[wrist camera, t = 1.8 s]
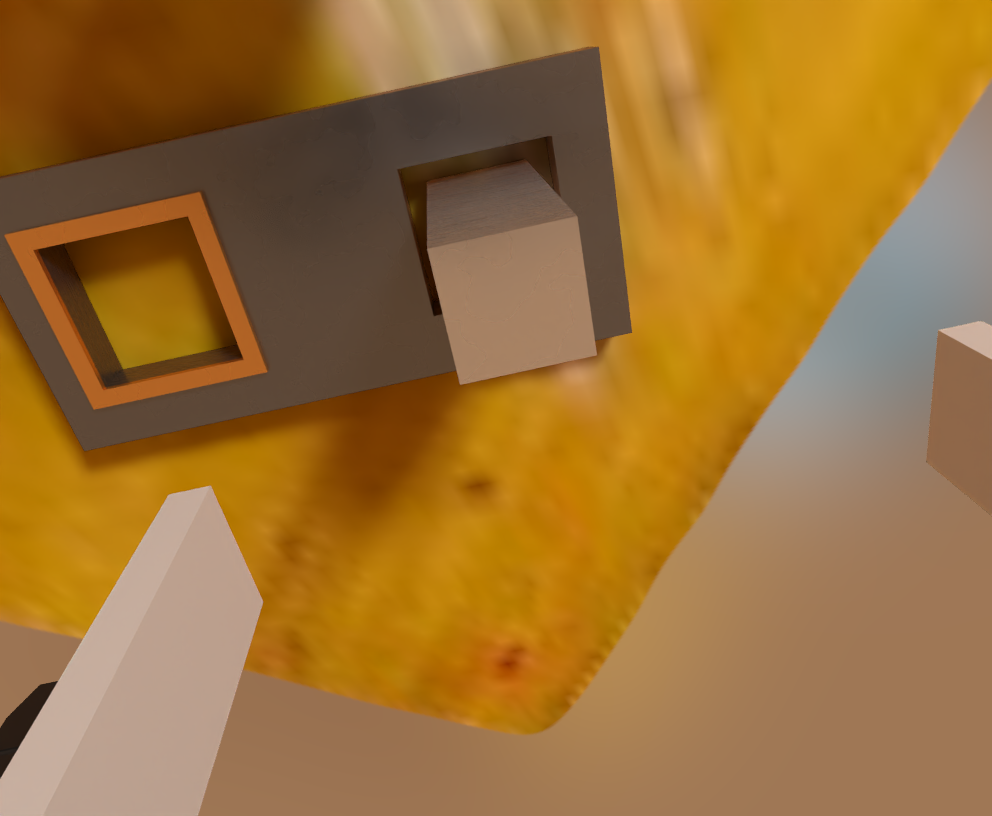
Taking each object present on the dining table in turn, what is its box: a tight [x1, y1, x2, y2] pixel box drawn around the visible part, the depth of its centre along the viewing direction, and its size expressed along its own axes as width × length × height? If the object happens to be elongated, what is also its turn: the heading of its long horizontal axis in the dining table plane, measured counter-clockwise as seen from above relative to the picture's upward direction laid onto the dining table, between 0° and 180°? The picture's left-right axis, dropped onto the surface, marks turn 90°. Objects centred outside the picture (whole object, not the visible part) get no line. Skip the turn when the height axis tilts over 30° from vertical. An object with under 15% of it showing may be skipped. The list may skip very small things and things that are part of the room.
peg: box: [427, 159, 597, 385], centre depth 27 cm, size 4×4×12 cm
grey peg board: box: [0, 47, 632, 451], centre depth 31 cm, size 26×12×2 cm, turn 101°
